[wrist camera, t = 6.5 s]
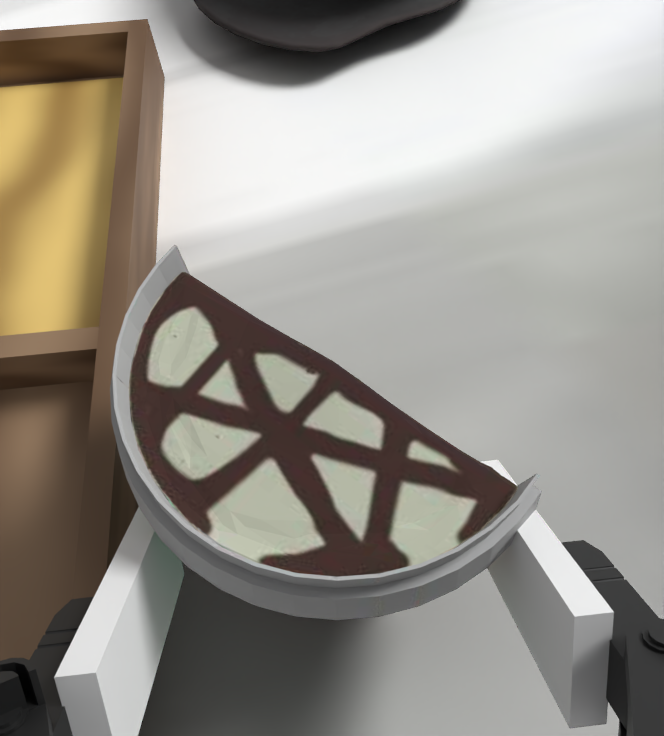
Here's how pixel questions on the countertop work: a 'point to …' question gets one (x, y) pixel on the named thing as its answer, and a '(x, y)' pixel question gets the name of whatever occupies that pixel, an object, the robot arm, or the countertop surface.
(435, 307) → the countertop surface
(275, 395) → the food container
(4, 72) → the walnut divided tray
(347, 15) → the casserole
